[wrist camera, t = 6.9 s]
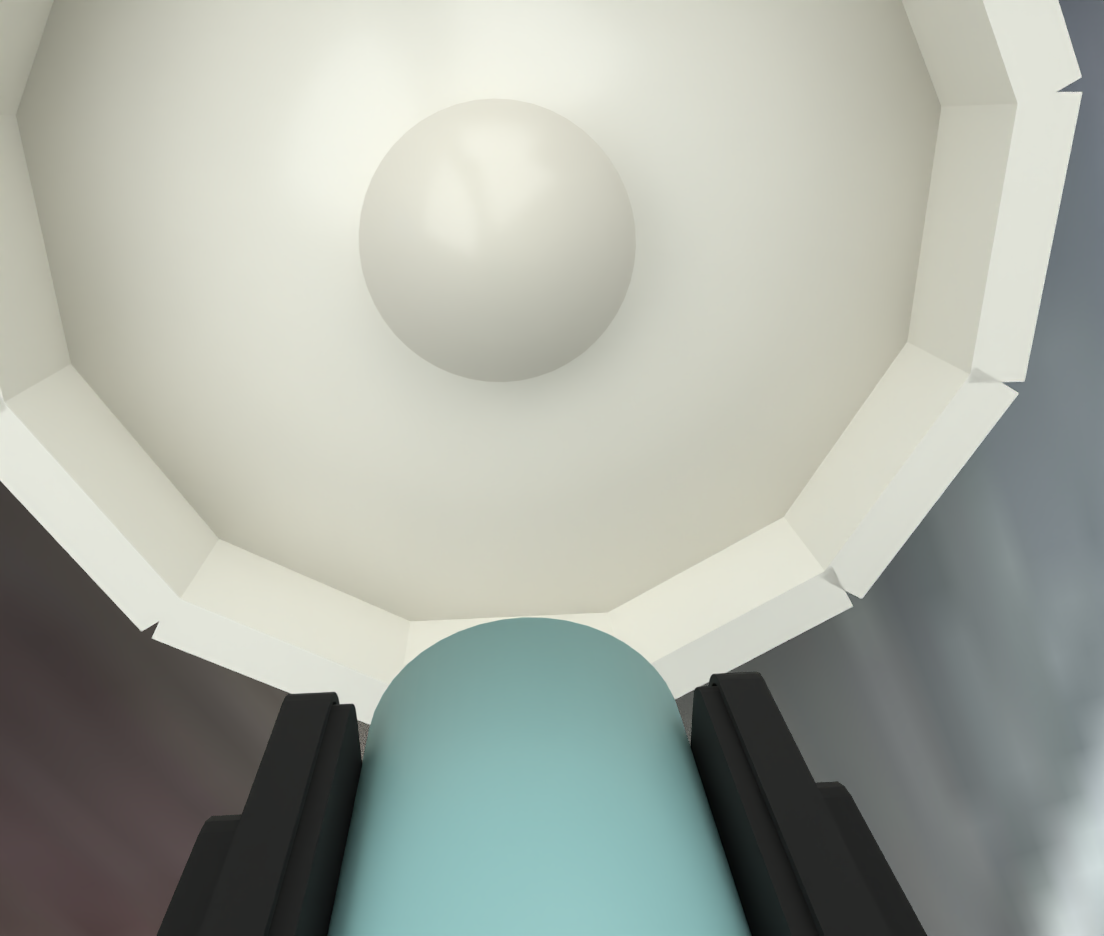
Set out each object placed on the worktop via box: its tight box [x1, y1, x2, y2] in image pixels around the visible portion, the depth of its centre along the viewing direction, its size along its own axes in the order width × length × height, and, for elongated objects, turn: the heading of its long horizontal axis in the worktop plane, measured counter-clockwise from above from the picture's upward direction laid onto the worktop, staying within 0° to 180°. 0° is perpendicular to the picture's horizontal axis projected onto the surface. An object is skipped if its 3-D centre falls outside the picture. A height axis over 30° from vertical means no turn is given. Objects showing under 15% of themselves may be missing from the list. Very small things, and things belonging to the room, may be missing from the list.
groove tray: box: [0, 0, 1082, 725], centre depth 15 cm, size 18×18×3 cm
